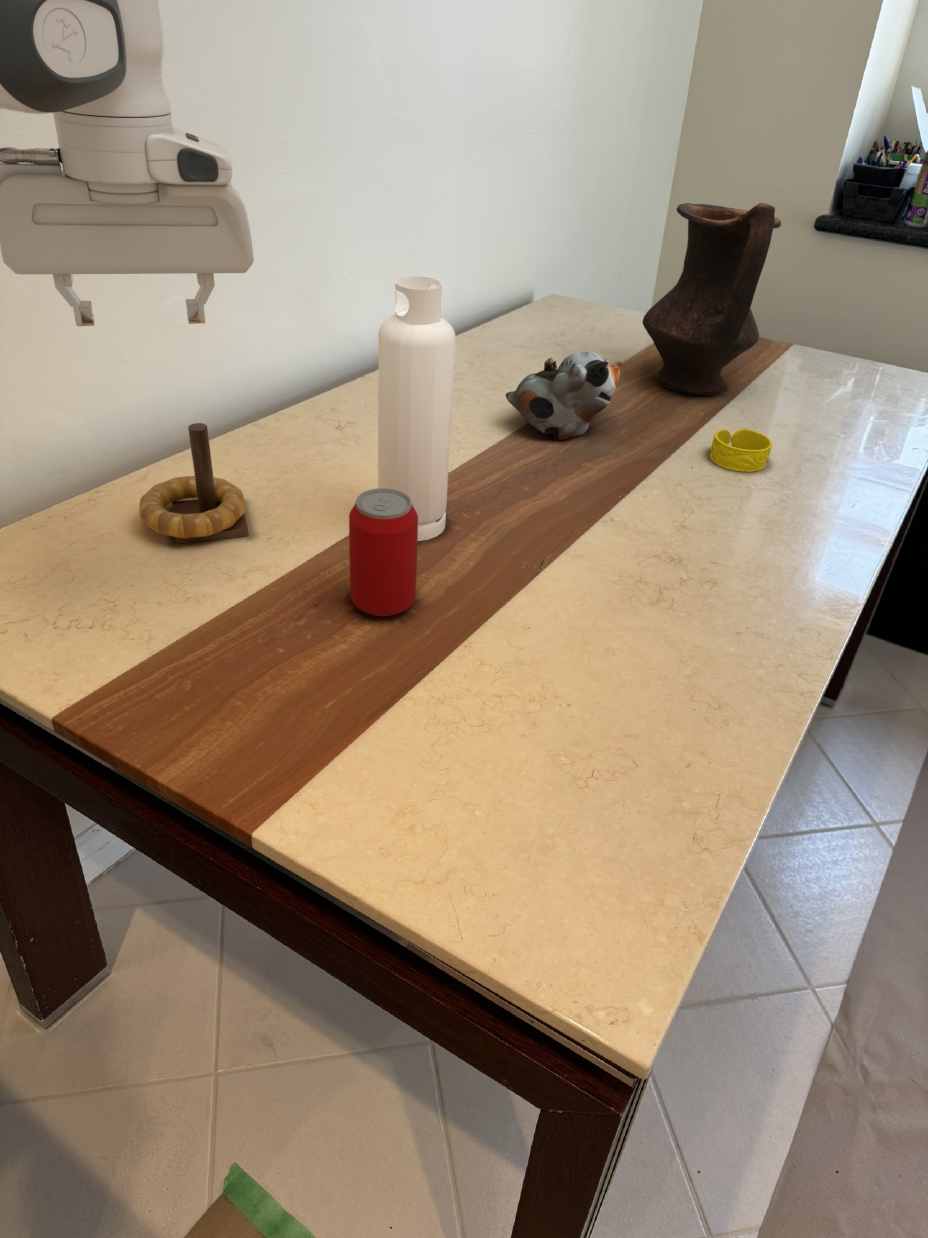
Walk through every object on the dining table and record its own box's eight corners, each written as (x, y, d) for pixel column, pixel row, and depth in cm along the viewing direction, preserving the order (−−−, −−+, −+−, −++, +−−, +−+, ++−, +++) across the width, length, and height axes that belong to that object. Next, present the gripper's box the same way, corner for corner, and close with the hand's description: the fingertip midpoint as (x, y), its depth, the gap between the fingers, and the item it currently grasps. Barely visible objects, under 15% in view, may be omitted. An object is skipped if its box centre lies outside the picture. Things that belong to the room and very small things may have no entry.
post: (176, 543, 98) (160, 445, 91) (172, 508, 104) (157, 414, 97) (248, 536, 100) (239, 439, 93) (241, 502, 106) (231, 409, 99)
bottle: (457, 532, 103) (473, 289, 87) (397, 547, 100) (401, 298, 83) (424, 501, 109) (434, 268, 92) (366, 515, 105) (364, 275, 89)
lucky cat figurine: (539, 397, 138) (594, 323, 130) (590, 448, 135) (649, 376, 127) (489, 396, 126) (546, 315, 118) (544, 453, 123) (606, 373, 115)
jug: (615, 365, 152) (648, 174, 134) (711, 362, 156) (755, 177, 138) (666, 415, 135) (710, 206, 118) (772, 410, 140) (830, 207, 122)
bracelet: (776, 470, 122) (782, 449, 120) (724, 473, 120) (730, 452, 118) (750, 447, 128) (756, 426, 126) (701, 450, 126) (706, 428, 124)
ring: (141, 546, 95) (137, 526, 94) (141, 495, 104) (137, 476, 102) (250, 536, 98) (248, 516, 97) (241, 487, 107) (239, 468, 105)
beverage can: (424, 593, 93) (429, 493, 86) (400, 628, 88) (402, 525, 81) (366, 578, 95) (366, 479, 87) (339, 612, 89) (336, 509, 82)
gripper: (-30, 153, 65) (12, 337, 73) (250, 161, 71) (260, 331, 79) (-21, 138, 70) (17, 314, 78) (241, 148, 76) (251, 309, 84)
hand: (142, 322), depth 78 cm, fingers open, 8 cm apart
